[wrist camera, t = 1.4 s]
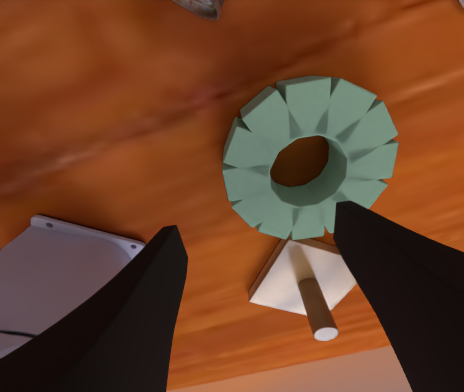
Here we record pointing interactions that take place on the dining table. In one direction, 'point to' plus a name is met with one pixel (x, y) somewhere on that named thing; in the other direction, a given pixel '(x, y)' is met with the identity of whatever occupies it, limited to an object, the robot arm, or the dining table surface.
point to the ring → (298, 126)
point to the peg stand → (304, 282)
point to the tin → (202, 7)
